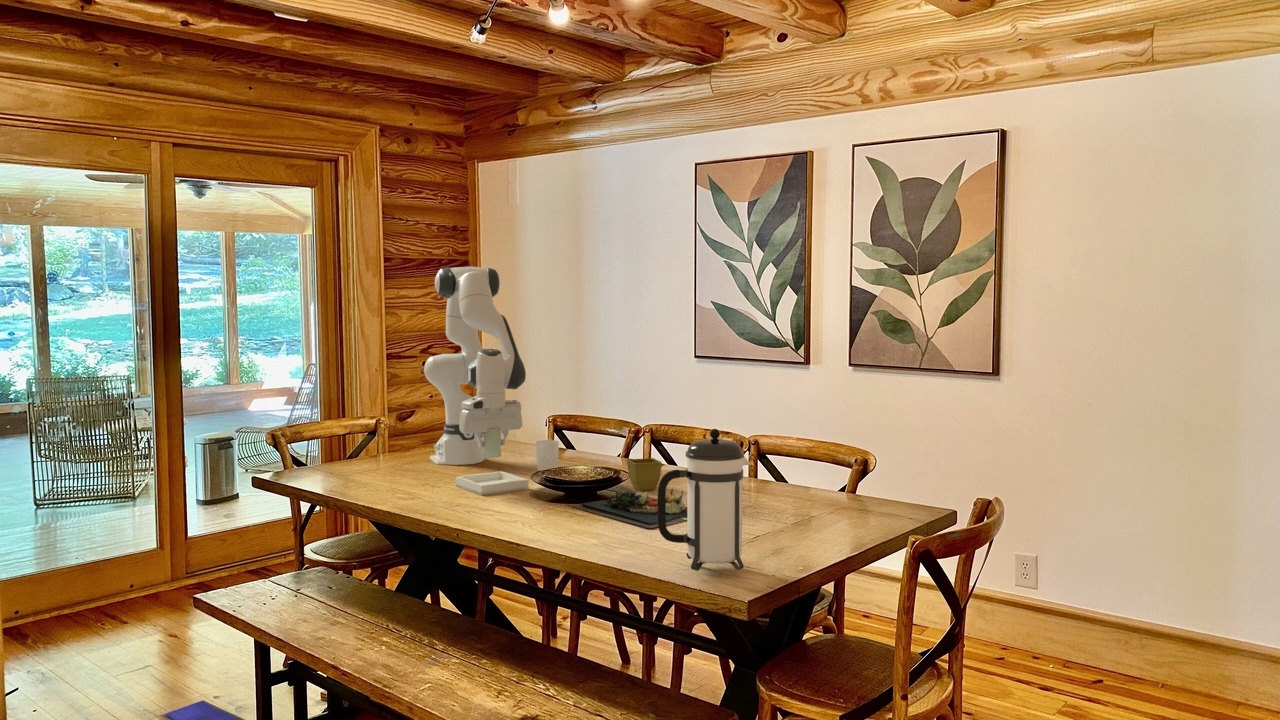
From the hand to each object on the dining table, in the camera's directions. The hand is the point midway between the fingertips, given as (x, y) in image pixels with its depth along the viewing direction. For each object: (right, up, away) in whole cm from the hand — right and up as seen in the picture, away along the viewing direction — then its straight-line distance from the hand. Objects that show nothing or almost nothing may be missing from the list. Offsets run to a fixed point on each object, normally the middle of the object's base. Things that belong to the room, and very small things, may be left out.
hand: (491, 445), depth 292 cm
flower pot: (+47, -14, -2) cm, 49 cm away
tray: (0, -13, +1) cm, 13 cm away
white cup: (+14, -12, +31) cm, 36 cm away
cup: (0, -3, 0) cm, 3 cm away
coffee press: (+61, -19, -85) cm, 107 cm away
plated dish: (+47, -16, -29) cm, 58 cm away
